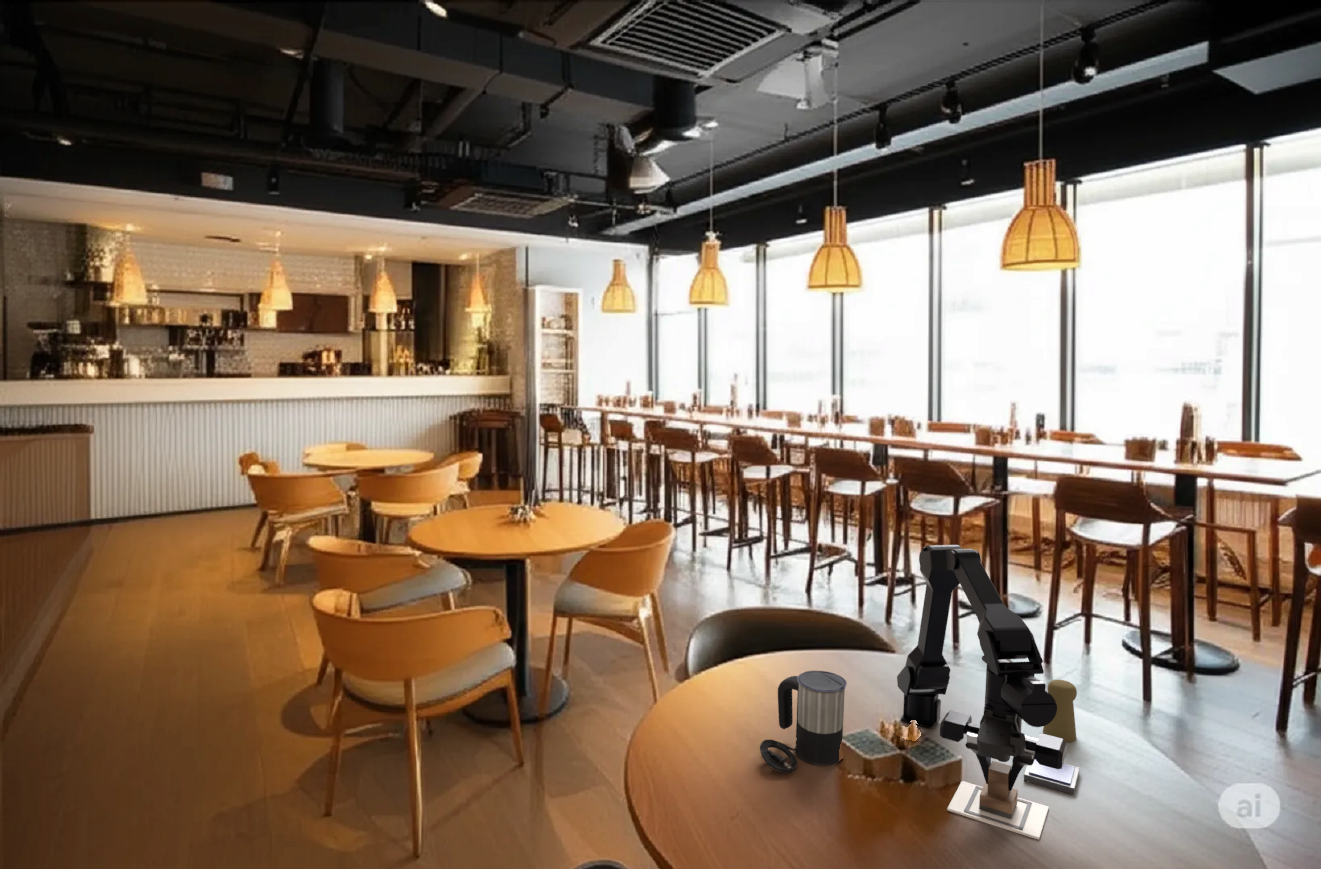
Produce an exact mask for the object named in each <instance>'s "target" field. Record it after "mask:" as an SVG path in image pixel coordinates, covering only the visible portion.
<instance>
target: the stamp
mask: <svg viewBox="0 0 1321 869" xmlns="http://www.w3.org/2000/svg"><path fill="white" fill-rule="evenodd" d="M1011 769H1012V765H1009V764H1006V763H1004V762H1000V761H994V760H991V765H990V767H989V772H988V784H986V781H985V782H984V785H983V786H982V787H983V789H982V791H981V793H980V801H979V809H981V810H984V811H987V812H990V813H993V814H997V815H1000V816H1003V817H1006V818H1009V819H1012V816H1013V813H1014V811H1015V808H1016V805H1017V797H1018V793H1019V792H1018V791H1019V790H1018V789H1016V788H1012V790H1011V791H1009V779H1010V774H1011Z"/></svg>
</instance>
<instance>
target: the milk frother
mask: <svg viewBox="0 0 1321 869" xmlns="http://www.w3.org/2000/svg"><path fill="white" fill-rule="evenodd" d="M847 684H848V682H847V680H846V679H845V678H844V677H842V676H841V675H839V674H836V673H834V672H830V671H824V670H808V671H807V670H806V671H804V672H802V673H799V674H798V675H792V676H788V677H786V678H785V679H783V680H782V681H781V682H780V683H779V685H778V686H777V706H778V708H777V710H778V726H779V727H780V728H781V729H782V730H786V729H788V728H790V727H791V726H792V725H793V721H794V720H793V719H794V718H793V715H794V714H793V690H794V691H797V701H796V702H797V703H796V727H795V728H796V729H795V737H796V741H795V747H794V748H793V747H791V746H788V745H787V744H785V743H783V742H780V741H778V740H775V739H765V740H763V741H761V743H760V745H759V751H760V755H761V757H762V759H763V761H764V762H765V763H766V765H767V766H768V767H770V768H771V769H772V770H774V771H776V772H780V773H784V774H785V773H786V774H787V773H791V772H793V771H794V770H795V769H796V768H797V766H798V761H797V758H796V756H797V757H798V758H800V760H802V761H804V762H806V763H809V764H811V765H815V766H832V765H836V764H839V763H840V762H839V749H840V744H841V741H842V739H843V738H844V737H843V735H844V717H845V716H844V714H845V713H844V712H845V695H846V694H845V691H846V687H847ZM843 740H844V739H843ZM769 748H773V749H776V750H780V751H781V752H782V753H784V754H785V755H786V756H785V757H783V756H782V755H780V754H779V753H776V752H774V751H772V750H771V749H769ZM792 751H793V752H794V753H795V754H796V756H795V755H794V753H793V752H792ZM787 758H788V759H789V762H790V764H788V763H787V762H786V761H787Z"/></svg>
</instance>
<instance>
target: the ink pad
mask: <svg viewBox="0 0 1321 869" xmlns="http://www.w3.org/2000/svg"><path fill="white" fill-rule="evenodd" d="M1079 777H1080V767H1078V766H1074V765H1070V764H1068V763H1065V762H1064V763H1063V766H1062V769H1055V768H1051V767H1047V766H1044V765H1040V764H1039V763H1038V762H1037V761H1036V760H1034V763H1033V765H1031V766H1030V765H1026V768H1025V771H1024V773H1023V781H1024V782H1028V783H1031V784H1035V785H1037V786H1041V787H1046V788H1049V789H1053V790H1055V791H1059V792H1061V793H1064V794H1065V793H1066V794H1070V795H1073V796H1075V791H1076V787H1077V783H1078V780H1079Z"/></svg>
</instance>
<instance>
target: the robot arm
mask: <svg viewBox="0 0 1321 869" xmlns="http://www.w3.org/2000/svg"><path fill="white" fill-rule="evenodd" d="M918 557H919V558H918V563H919V571H920V573H921V575H922V577H923V579H924V580H925V583H926V586H925V590H924V591H925V592H924V599H923V606H922V612H921V620H920V627H919V632H918V633H919V635H918V639H917V640H918V642H917V645H916V646H915V648H913V650H911V651H910V653H909V654H908V655H907V656H906V657H907V658H906V662H905V665H904V667H903V668H902V669H901V670H900V672H899V673H898V675H897V676H896V680H897V681H896V682H897V687H898V689H899V690H900V691H901V692H902V693H903V711H902V712H903V713H902V715H901V716H900V721H902V722H904V723H908V722H910V721H911V720H916V721H917V723H918V724H919V725H921V727H924V728H928V729H933V728H934V726H935V725H936V724H937V723H938V722H939V721H940V720H941V710H942V709H941V707H942V706H941V705H942V700H941V699H940V698H939V695H942V696H943V695H946V694H947V690H948V687H949V684H950V678H951V675H950V673H951V667H950V666H949V665H948V663H947V661H946V659H945V657H944V655H943V654H944V653H943V652H944V645H945V639H946V633H947V626H948V621H949V613H950V607H951V600H952V595H953V591H954V590H955V589H956V588H957V587H958V586H959V585H960V587H961V588H962V590H963V593H964V594H965V596H966V599H967V600H968V602H969V604H970V606H971V609H972V610H973V613H974V614H975V616H976V618H977V621H978V624H979V625H978V628H977V633H976V635H977V637H978V638H977V639H978V640H979V646H980V649H981V651H982V653H983V655H982V656H981V661H983V662H984V663H985V664H986V673H985V693H984V707H983V708H984V709H983V714H982V717H981V719H980V720H979V724H975V723H972V722H973V718H972V715H971V714H966V713H963V712H958V711H955V710H949V711H948V712H947V713H946V714H945V716H944V717H943V719H942V720H941V722H940V726H939V737H941V738H942V739H944V740H945V739H946V740H948V741H949V740H950V741H953V742H957V743H959V742H961V741H962V740H964V737H965V736H964V735H966V743H965V744H964V745H965V747H966V749H968V750H971V751H972V752H973V753H974V754H975V755H976V757H977V761H978V762H979V765H980V768H981V771H982V774H983V777H984V780H985V782H986V784H988V772H989V767H990V765H991V763H992V759H993V760H998V761H997V762H1000V763H1007V762H1009V761H1010V760H1011V757H1012V764H1011V774H1010V779H1009V791H1011V790H1012V788H1013V787H1015V783H1016V781H1017V779H1018V776H1019V774H1020V773H1021V771H1022V769H1024V767H1025V766H1027V765H1030V766H1031V765H1033V763H1034V760H1036V761H1037V762H1038V763H1039V764H1040V765H1044V766H1047V767H1051V768H1055V769H1062V766H1063V763H1064V764H1065V760H1066V756H1067V742H1065V741H1064V740H1063V739H1062V738H1058V737H1054V736H1050V735H1046V734H1043V732H1042V733H1041V732H1040V734H1039V735H1038V738H1036V737H1035V738H1034V737H1030V736H1027V735H1025V733H1024V732H1022V724H1023V723H1022V721H1024V722H1025V723H1026V725H1028V726H1031V727H1033V728H1041V727H1044V726H1045V725H1047V724H1049V723H1050V722H1051V721H1052V720H1053V719H1054V717H1055V715H1056V712H1057V705H1056V702H1055V699H1054V698H1053V696H1052V695H1051V694H1049V693H1048V690H1046V689H1047V688H1046V687H1047V686H1046V683H1045V682H1044V681H1042V680H1040V679H1038V678H1036V677H1035V675H1043V674H1044V673H1045V670H1044V668H1043V667H1044V666H1043V663H1044V660H1043V657H1042V655H1041V653H1040V650H1039V648H1038V646H1037V643H1036V641H1035V637H1034V634H1033V632H1032V631H1031V629H1030V628H1029V627H1028V625H1027V624H1026V622H1025V621H1024V619H1022V618H1021V616H1020V615H1019V614H1017V613H1015V612H1014V611H1012V610H1011V609H1009V608H1008V607H1007V606H1006V605H1005V603H1004V601H1003V600H1002V598H1001V596H1000V594H999V593H998V591H997V589H996V587H995V585H994V584H993V582H992V580H991V577H990V576H989V575H988V572H987V571H986V569H985V567H984V565H983V564H982V558H981V554H980V552H979V551H978V549H977V550H976V549H973V548H962V546H960V545H959V544H942V545H941V544H936V545H932V544H931V545H926V546H923V547H922V549H921V551H920V552H919V556H918ZM1026 659H1028V661H1013V660H1026ZM919 725H918V726H919Z"/></svg>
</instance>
